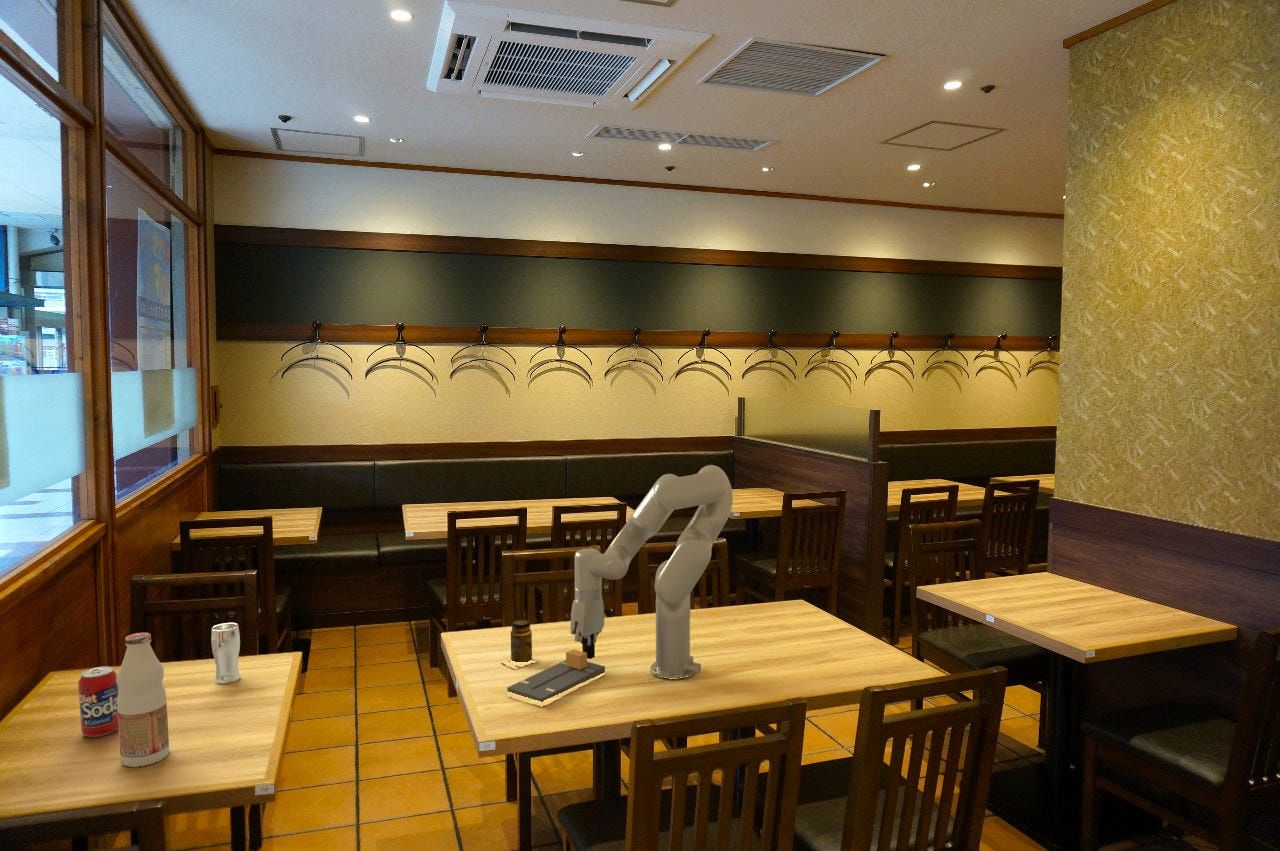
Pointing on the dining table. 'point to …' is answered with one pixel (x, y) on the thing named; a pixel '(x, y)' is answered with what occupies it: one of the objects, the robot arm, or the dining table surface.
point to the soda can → (98, 701)
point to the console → (555, 680)
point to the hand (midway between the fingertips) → (588, 657)
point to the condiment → (521, 641)
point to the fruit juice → (141, 704)
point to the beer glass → (226, 652)
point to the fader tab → (576, 659)
